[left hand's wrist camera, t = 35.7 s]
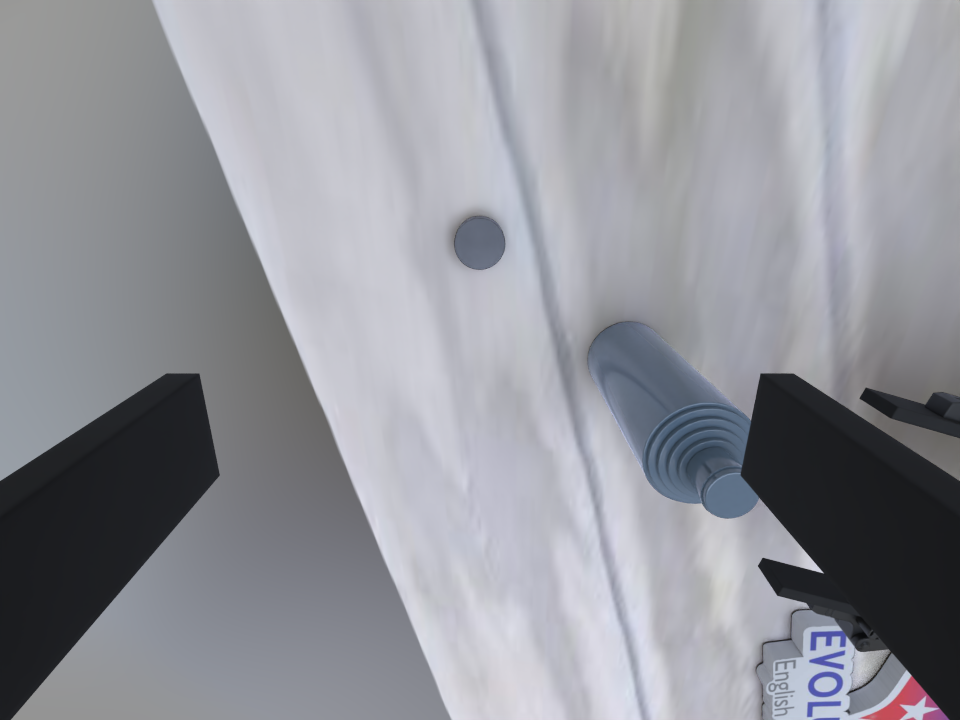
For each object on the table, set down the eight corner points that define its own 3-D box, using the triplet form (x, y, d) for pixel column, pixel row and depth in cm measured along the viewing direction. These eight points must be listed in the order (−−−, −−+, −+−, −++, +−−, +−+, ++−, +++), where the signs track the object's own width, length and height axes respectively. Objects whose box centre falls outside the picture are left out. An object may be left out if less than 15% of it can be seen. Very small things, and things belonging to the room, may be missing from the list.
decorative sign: (766, 625, 57) (1053, 586, 55) (756, 608, 59) (1031, 571, 57) (764, 816, 68) (1001, 790, 67) (756, 797, 71) (985, 771, 69)
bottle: (626, 406, 51) (728, 570, 30) (571, 364, 49) (638, 505, 28) (679, 352, 49) (828, 486, 28) (624, 306, 47) (737, 412, 26)
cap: (513, 244, 45) (515, 248, 43) (475, 274, 46) (475, 279, 44) (483, 205, 44) (483, 207, 42) (445, 237, 45) (443, 240, 43)
